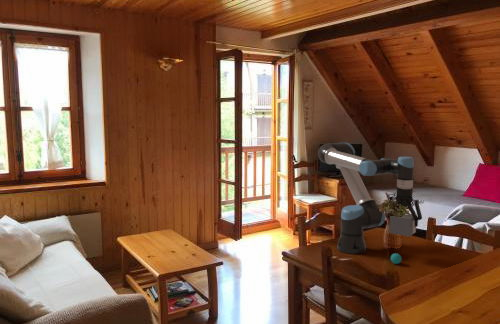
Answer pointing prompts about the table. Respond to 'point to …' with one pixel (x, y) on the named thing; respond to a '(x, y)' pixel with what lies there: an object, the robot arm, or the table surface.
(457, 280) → the table surface
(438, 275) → the table surface
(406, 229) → the dark grey block
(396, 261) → the ball
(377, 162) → the robot arm
